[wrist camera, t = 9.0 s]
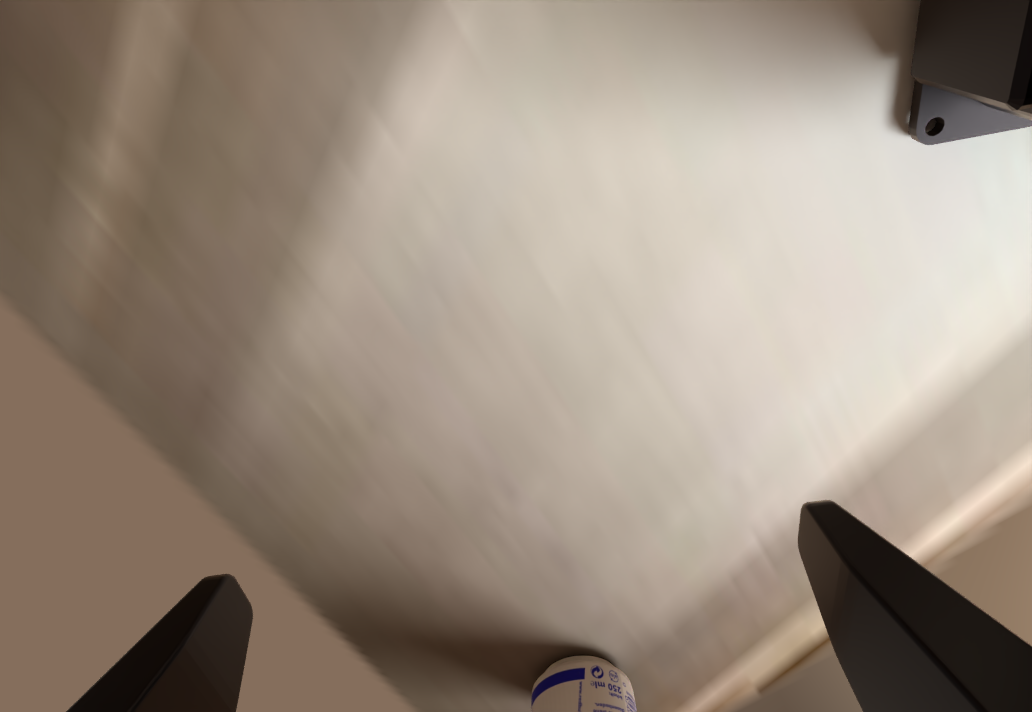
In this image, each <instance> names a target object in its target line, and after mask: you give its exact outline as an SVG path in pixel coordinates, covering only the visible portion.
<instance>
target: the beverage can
mask: <svg viewBox="0 0 1032 712" xmlns="http://www.w3.org/2000/svg"><path fill="white" fill-rule="evenodd" d="M531 706H532V712H637V709H636V704H635V698H634V693H633V689H632V686H631V682H630V680H629V679H628V677H627V676H626V675H625V674H624V673H623V672H622V671H621V670H619V669H618V668H616V667H614V666H613V665H612V664H611V663H610V662H608V661H606V660H604V659H602V658H599V657H594V656H584V655H582V656H572V657H567V658H564V659H561V660H559V661H557V662H555V663H553V664H552V665H551V666H549V667H548V668H547V670H546V671H545V673H543V674H542V675H541V676H540V677H539V678H538V679H537V681H536V682H535V684H534V686H533V689H532V700H531Z"/></svg>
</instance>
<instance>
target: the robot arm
mask: <svg viewBox="0 0 1032 712" xmlns="http://www.w3.org/2000/svg"><path fill="white" fill-rule="evenodd" d="M911 75H912V76H913V77H914V78H915V84H914V91H913V99H912V106H911V113H910V121H909V134H910V136H911V137H912V139H914V140H916V141H918V142H920V143H923V144H925V145H933V144H939V143H944V142H949V141H955V140H960V139H965V138H971V137H976V136H982V135H987V134H992V133H998V132H1003V131H1008V130H1014V129H1019V128H1025V127H1030V126H1032V0H921V1H920V8H919V16H918V23H917V31H916V39H915V46H914V54H913V61H912V69H911ZM935 117H936V124H935V126H934V127H933V128H932V130H931V131H928V132H926V130H925V128H926V125H927V123H928V122H929V121H930V120H931V119H933V118H935ZM798 548H799V552H800V556H801V559H802V561H803V564H804V567H805V570H806V573H807V576H808V578H809V581H810V584H811V587H812V590H813V593H814V595H815V598H816V601H817V604H818V607H819V610H820V612H821V615H822V618H823V621H824V624H825V627H826V629H827V632H828V635H829V638H830V640H831V643H832V646H833V648H834V651H835V653H836V656H837V658H838V660H839V662H840V664H841V667H842V669H843V671H844V673H845V675H846V677H847V679H848V681H849V683H850V685H851V688H852V689H853V692H854V694H855V696H856V698H857V700H858V702H859V704H860V706H861V708H862V710H863V712H1032V646H1031V645H1030V644H1028V643H1027V642H1026V641H1024V640H1023V639H1022V638H1020V637H1019V636H1017V635H1016V634H1015V633H1013V632H1012V631H1011V630H1009V629H1008V628H1007V627H1005V626H1004V625H1002V624H1001V623H1000V622H998V621H997V620H996V619H994V618H993V617H991V616H990V615H989V614H987V613H986V612H985V611H983V610H982V609H981V608H979V607H978V606H976V605H975V604H974V603H972V602H971V601H970V600H968V599H967V598H965V597H964V596H963V595H961V594H960V593H958V592H957V591H956V590H955V589H953V588H952V587H950V586H949V585H948V584H946V583H945V582H943V581H942V580H941V579H939V578H938V577H937V576H935V575H934V574H933V573H931V572H930V571H929V570H927V569H926V568H924V567H923V566H922V565H920V564H919V563H918V562H916V561H915V560H913V559H912V558H911V557H909V556H908V555H907V554H905V553H904V552H903V551H901V550H900V549H898V548H897V547H896V546H894V545H893V544H892V543H890V542H889V541H887V540H886V539H885V538H883V537H882V536H881V535H879V534H878V533H877V532H875V531H874V530H872V529H871V528H870V527H868V526H867V525H866V524H864V523H863V522H861V521H860V520H859V519H857V518H856V517H855V516H853V515H852V514H851V513H849V512H848V511H846V510H845V509H844V508H842V507H841V506H840V505H838V504H837V503H835V502H833V501H831V500H822V501H814V502H807V503H805V504H803V506H802V508H801V514H800V523H799V533H798ZM252 619H253V613H252V607H251V604H250V602H249V600H248V599H247V597H246V595H245V594H244V592H243V590H242V589H241V587H240V585H239V584H238V582H237V580H236V579H235V577H234V576H232V575H230V574H222V575H214V576H208V577H205V578H204V579H202V580H201V581H200V582H199V583H198V584H197V585H196V586H195V587H194V588H192V589H191V590H190V591H189V592H188V593H187V594H186V595H185V596H184V597H183V598H182V599H181V600H180V601H179V602H178V603H177V604H176V605H175V606H174V607H173V608H172V609H171V610H170V611H169V612H168V613H167V614H166V615H165V616H164V617H163V618H162V619H161V620H160V621H159V622H158V623H157V624H156V625H155V626H154V627H152V628H151V630H149V631H148V632H147V633H146V635H144V636H143V637H142V638H141V639H140V640H139V641H138V642H137V643H136V644H135V645H134V646H133V647H132V648H131V649H130V650H129V651H128V652H127V653H126V654H125V655H124V656H123V657H122V658H121V659H120V660H119V661H118V662H117V663H116V664H115V665H114V666H112V667H111V668H110V669H109V670H108V671H107V672H106V674H104V675H103V676H102V677H101V678H100V679H99V680H98V681H97V682H96V683H95V684H94V685H93V686H92V687H91V688H90V689H89V690H88V691H87V692H86V693H85V694H84V695H83V696H82V697H81V698H80V699H79V700H78V701H77V702H76V703H75V704H74V705H73V706H71V707H70V708H69V709H68V710H67V711H66V712H236V708H237V703H238V698H239V692H240V687H241V681H242V675H243V670H244V665H245V659H246V653H247V648H248V642H249V636H250V631H251V625H252Z"/></svg>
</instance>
